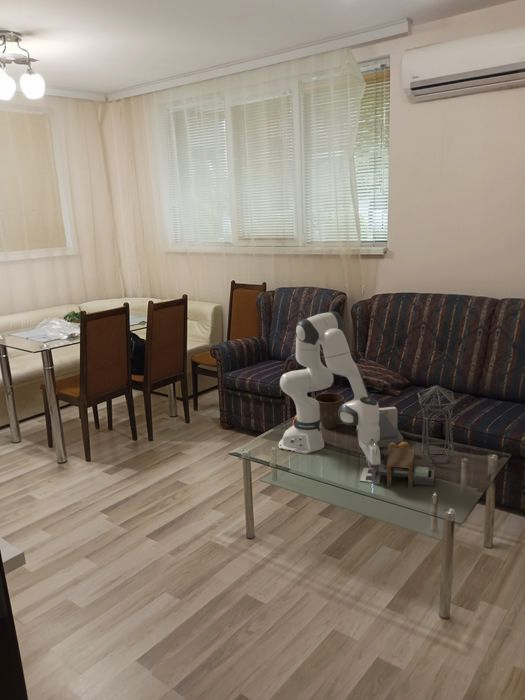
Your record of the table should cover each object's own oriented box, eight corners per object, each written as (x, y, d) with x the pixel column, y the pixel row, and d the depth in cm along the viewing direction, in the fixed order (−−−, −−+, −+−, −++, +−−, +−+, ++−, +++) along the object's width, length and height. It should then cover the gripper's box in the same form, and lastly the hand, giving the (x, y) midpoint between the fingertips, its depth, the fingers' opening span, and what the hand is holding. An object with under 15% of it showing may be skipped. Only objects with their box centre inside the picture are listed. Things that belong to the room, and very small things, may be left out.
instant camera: (398, 430, 286) (398, 402, 282) (404, 448, 266) (404, 418, 262) (356, 431, 288) (355, 404, 284) (359, 449, 268) (358, 420, 264)
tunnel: (387, 485, 233) (386, 462, 230) (390, 469, 246) (390, 447, 243) (412, 488, 230) (412, 464, 227) (414, 471, 243) (414, 449, 240)
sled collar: (371, 483, 235) (371, 466, 233) (375, 468, 248) (375, 452, 246) (433, 489, 227) (433, 471, 225) (434, 472, 240) (434, 456, 238)
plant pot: (330, 418, 306) (329, 390, 302) (350, 426, 295) (349, 397, 290) (310, 426, 298) (308, 397, 294) (329, 434, 286) (328, 405, 282)
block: (415, 482, 234) (415, 472, 232) (416, 477, 238) (416, 466, 237) (427, 484, 232) (428, 473, 231) (428, 478, 237) (428, 467, 235)
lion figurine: (394, 464, 251) (394, 446, 248) (384, 460, 255) (384, 442, 252) (414, 453, 259) (414, 435, 257) (405, 450, 263) (405, 432, 261)
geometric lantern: (457, 467, 244) (458, 391, 235) (420, 467, 247) (418, 392, 238) (453, 451, 259) (453, 379, 249) (418, 450, 262) (416, 380, 253)
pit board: (359, 481, 238) (359, 480, 237) (363, 468, 249) (363, 467, 248) (378, 483, 235) (378, 482, 235) (382, 470, 246) (382, 468, 246)
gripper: (384, 444, 227) (384, 475, 231) (369, 425, 247) (370, 454, 250) (368, 446, 226) (369, 477, 230) (355, 426, 246) (356, 455, 250)
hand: (369, 465), depth 240 cm, fingers closed
